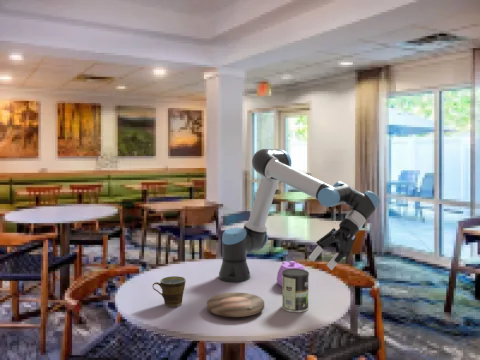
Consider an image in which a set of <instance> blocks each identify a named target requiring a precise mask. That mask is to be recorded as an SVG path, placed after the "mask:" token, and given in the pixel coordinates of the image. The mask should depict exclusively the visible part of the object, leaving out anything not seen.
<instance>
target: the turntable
mask: <svg viewBox="0 0 480 360" xmlns="http://www.w3.org/2000/svg"><path fill="white" fill-rule="evenodd" d="M206 309H207V311H209V312H211V313H212V314H214V315H217V316H220V317H227V318H244V317H248V316H249V317H250V316H253V315H256V314H258V313H261V312H262V311H263V310H264V309H265V301H264V299H263V298H262V297H260V296H258V295H255V294H251V293H246V292H225V293H219V294H216V295H213V296H211V297H210V298H208V299H207V301H206Z"/></svg>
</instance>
